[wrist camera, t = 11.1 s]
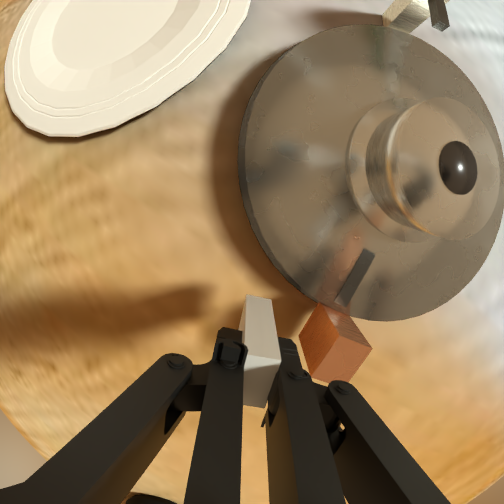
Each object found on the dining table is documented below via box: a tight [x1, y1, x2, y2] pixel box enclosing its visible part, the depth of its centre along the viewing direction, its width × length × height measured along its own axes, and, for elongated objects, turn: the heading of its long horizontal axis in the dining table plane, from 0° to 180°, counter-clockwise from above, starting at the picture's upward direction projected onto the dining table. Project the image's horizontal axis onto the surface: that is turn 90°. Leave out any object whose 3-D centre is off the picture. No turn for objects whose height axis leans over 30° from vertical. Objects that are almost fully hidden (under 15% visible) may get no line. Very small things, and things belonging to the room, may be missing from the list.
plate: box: [4, 0, 251, 137], centre depth 16 cm, size 25×25×2 cm
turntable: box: [245, 25, 504, 383], centre depth 16 cm, size 25×22×6 cm
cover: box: [345, 97, 500, 243], centre depth 14 cm, size 10×10×6 cm
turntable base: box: [238, 0, 450, 303], centre depth 16 cm, size 25×23×8 cm
